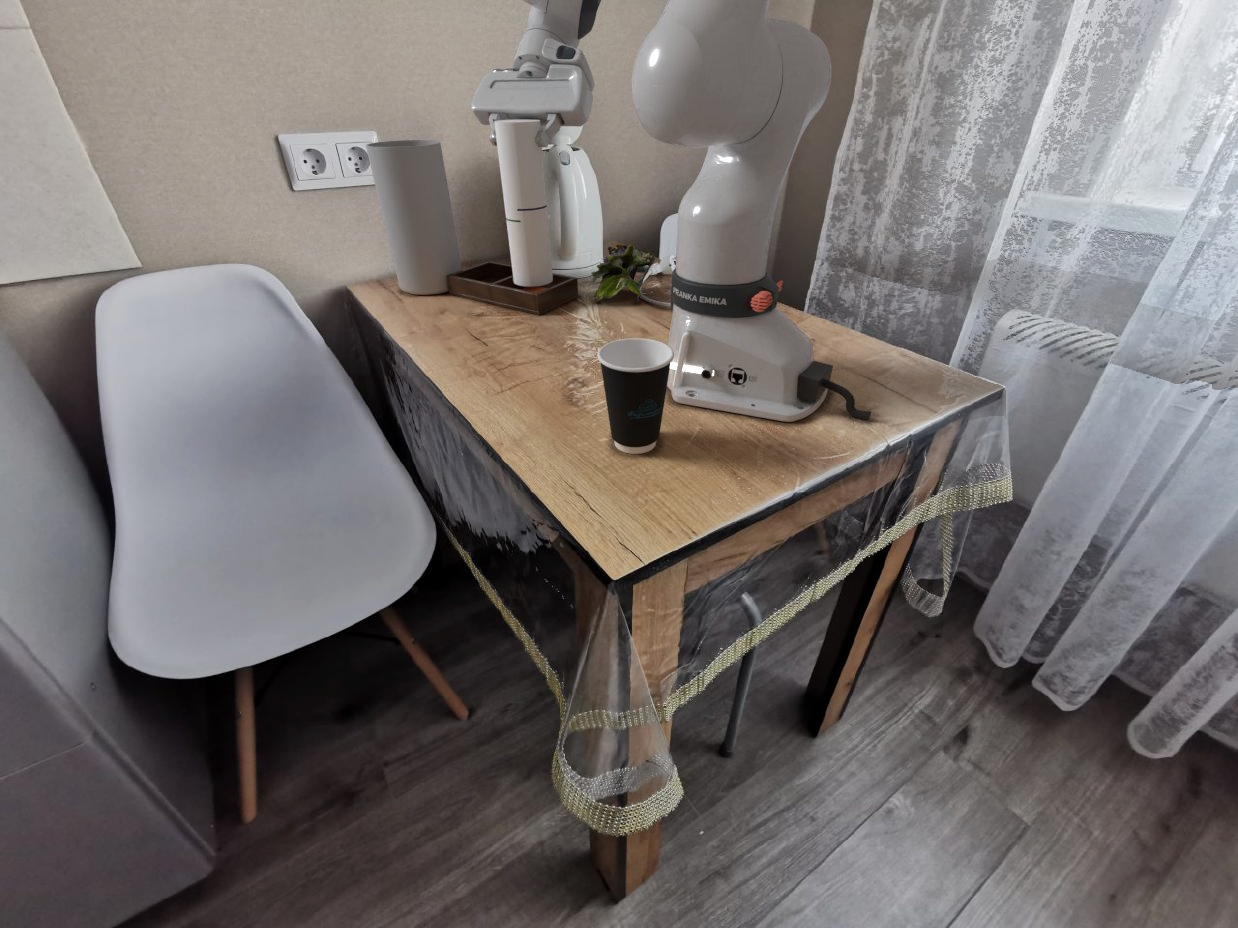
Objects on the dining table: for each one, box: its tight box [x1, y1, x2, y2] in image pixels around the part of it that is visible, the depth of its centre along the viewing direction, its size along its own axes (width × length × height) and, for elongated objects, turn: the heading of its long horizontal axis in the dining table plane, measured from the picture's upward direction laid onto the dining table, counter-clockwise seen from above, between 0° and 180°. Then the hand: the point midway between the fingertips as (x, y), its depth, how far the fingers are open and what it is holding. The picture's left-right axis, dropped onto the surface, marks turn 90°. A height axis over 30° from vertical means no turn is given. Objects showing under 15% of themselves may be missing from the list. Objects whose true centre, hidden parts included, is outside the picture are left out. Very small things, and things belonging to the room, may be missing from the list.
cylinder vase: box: [365, 139, 463, 296], centre depth 105 cm, size 12×12×25 cm
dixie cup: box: [596, 337, 674, 455], centre depth 61 cm, size 8×8×11 cm
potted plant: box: [591, 243, 656, 304], centre depth 103 cm, size 11×11×12 cm
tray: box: [446, 260, 579, 316], centre depth 106 cm, size 22×12×4 cm, turn 57°
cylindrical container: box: [494, 119, 553, 287], centre depth 95 cm, size 7×7×25 cm
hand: (517, 144), depth 89 cm, fingers closed on cylindrical container, 7 cm apart
